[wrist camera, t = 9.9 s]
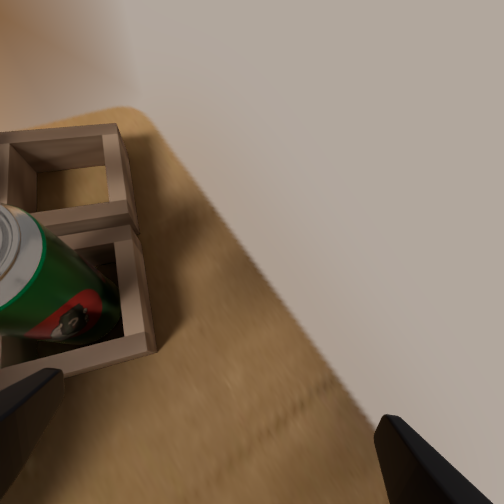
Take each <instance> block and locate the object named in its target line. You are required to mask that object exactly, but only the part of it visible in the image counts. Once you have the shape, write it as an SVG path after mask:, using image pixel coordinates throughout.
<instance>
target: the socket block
mask: <svg viewBox="0 0 504 504" xmlns="http://www.w3.org/2000/svg"><path fill="white" fill-rule="evenodd" d="M101 165H105V166H106V175H107V184H108V193H109V202H105V203H98V204H91V205H84V206H78V207H71V208H64V209H57V210H50V211H43V212H37V173H39V172H48V171H57V170H66V169H74V168H83V167H92V166H101ZM0 203H4V204H9V205H13V206H15V207H18V208H21V209H22V210H24V211H26V212H28V213H29V214H30V215H32V216H33V217H34V218H35V219H37V220H38V221H39V222H40V223H41V224H43V225H44V226H45V227H46V228H48V229H49V230H50V231H51V232H52V233H54V234H55V235H56V236H57V237H58V238H60V239H61V240H62V241H63V242H65V243H66V244H67V245H68V246H69V247H71V248H72V249H73V250H74V251H76V252H77V253H78V254H79V255H80V256H82V257H83V258H84V259H85V260H86V261H88V262H89V263H90V264H91V265H93V266H98V265H103V264H108V263H114V262H116V265H117V274H118V283H119V292H120V301H121V310H122V319H123V328H124V337H121V338H117V339H114V340H110V341H106V342H102V343H98V344H94V345H90V346H87V347H83V348H79V349H75V350H71V351H67V352H63V353H60V354H56V355H52V356H48V357H44V358H40V359H37V340H33V339H25V338H17V337H8V336H0V391H1V390H3V389H5V388H6V387H8V386H10V385H12V384H14V383H16V382H18V381H20V380H22V379H24V378H26V377H28V376H30V375H31V374H33V373H35V372H37V371H39V370H41V369H43V368H48V367H49V368H56V369H61V370H62V371H63V373H64V378H68V377H71V376H75V375H79V374H82V373H86V372H89V371H93V370H96V369H100V368H104V367H107V366H111V365H114V364H118V363H122V362H125V361H129V360H132V359H136V358H139V357H143V356H147V355H150V354H154V353H157V346H156V339H155V332H154V326H153V319H152V312H151V305H150V299H149V292H148V285H147V279H146V272H145V265H144V258H143V252H142V245H141V243H140V241H139V239H138V237H137V236H136V234H140V232H139V225H138V218H137V211H136V205H135V198H134V191H133V185H132V178H131V171H130V164H129V158H128V152H127V149H126V147H125V144H124V142H123V139H122V137H121V134H120V132H119V129H118V127H117V124H116V123H111V124H99V125H86V126H74V127H61V128H48V129H36V130H23V131H11V132H0Z"/></svg>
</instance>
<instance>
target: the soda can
mask: <svg viewBox="0 0 504 504" xmlns="http://www.w3.org/2000/svg"><path fill="white" fill-rule="evenodd" d="M121 313H122V310H121V301H120V292H119V288H118V287H117V286H116V285H115V284H114V283H113V282H112V281H111V280H110V279H108V278H107V277H106V276H105V275H103V274H102V273H101V272H100V271H99V270H97V269H96V268H95V267H94V266H93V265H91V264H90V263H89V262H88V261H86V260H85V259H84V258H83V257H82V256H80V255H79V254H78V253H77V252H76V251H74V250H73V249H72V248H71V247H69V246H68V245H67V244H66V243H65V242H63V241H62V240H61V239H60V238H58V237H57V236H56V235H55V234H54V233H52V232H51V231H50V230H49V229H48V228H46V227H45V226H44V225H43V224H41V223H40V222H39V221H38V220H37V219H35V218H34V217H33V216H32V215H30V214H29V213H28V212H26V211H24V210H22V209H21V208H18V207H15V206H13V205H9V204H4V203H0V336H8V337H17V338H25V339H33V340H41V341H49V342H57V343H65V344H74V345H81V344H87V343H91V342H94V341H96V340H98V339H100V338H102V337H103V336H105V335H106V334H107V333H109V332H110V331H111V330H112V329H113V327H114V326H115V325H116V323H117V322H118V320H119V318H120V315H121Z"/></svg>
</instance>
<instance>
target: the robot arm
mask: <svg viewBox="0 0 504 504" xmlns="http://www.w3.org/2000/svg"><path fill="white" fill-rule="evenodd" d="M64 394H65V387H64V373H63V371H62V370H61V369H56V368H49V367H48V368H43V369H41V370H39V371H37V372H35V373H33V374H31V375H30V376H28V377H26V378H24V379H22V380H20V381H18V382H16V383H14V384H12V385H10V386H8V387H6V388H5V389H3V390H1V391H0V500H1V499H2V498H3V496H4V495H5V493H6V492H7V490H8V489H9V487H10V486H11V485H12V483H13V482H14V480H15V479H16V477H17V476H18V474H19V473H20V471H21V470H22V468H23V467H24V465H25V464H26V462H27V460H28V459H29V457H30V456H31V454H32V452H33V450H34V449H35V447H36V445H37V444H38V442H39V440H40V438H41V437H42V435H43V433H44V432H45V430H46V428H47V426H48V425H49V423H50V421H51V420H52V418H53V416H54V414H55V413H56V411H57V409H58V408H59V406H60V404H61V402H62V400H63V398H64ZM374 444H375V448H376V452H377V456H378V460H379V464H380V468H381V472H382V476H383V480H384V483H385V487H386V491H387V495H388V499H389V503H390V504H493V503H492V502H491V501H490V500H489V499H488V498H487V497H485V496H484V495H483V494H482V493H481V492H480V491H479V490H478V489H477V488H476V487H475V486H474V485H473V484H472V483H471V482H469V481H468V480H467V479H466V478H465V477H464V476H463V475H462V474H461V473H460V472H459V471H458V470H456V469H455V468H454V467H453V466H452V465H451V464H450V463H449V462H448V461H447V460H446V459H445V458H444V457H443V456H441V455H440V454H439V453H438V452H437V451H436V450H435V449H434V448H433V447H432V446H431V445H429V444H428V443H427V442H426V441H425V440H424V439H423V438H422V437H421V436H420V435H419V434H418V433H417V432H416V431H415V430H413V429H412V428H411V427H410V426H409V425H408V424H407V423H406V422H405V421H404V420H403V419H402V418H400V417H399V416H395V415H388V414H386V415H383V416H382V418H381V420H380V422H379V424H378V426H377V429H376V431H375V433H374Z"/></svg>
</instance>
